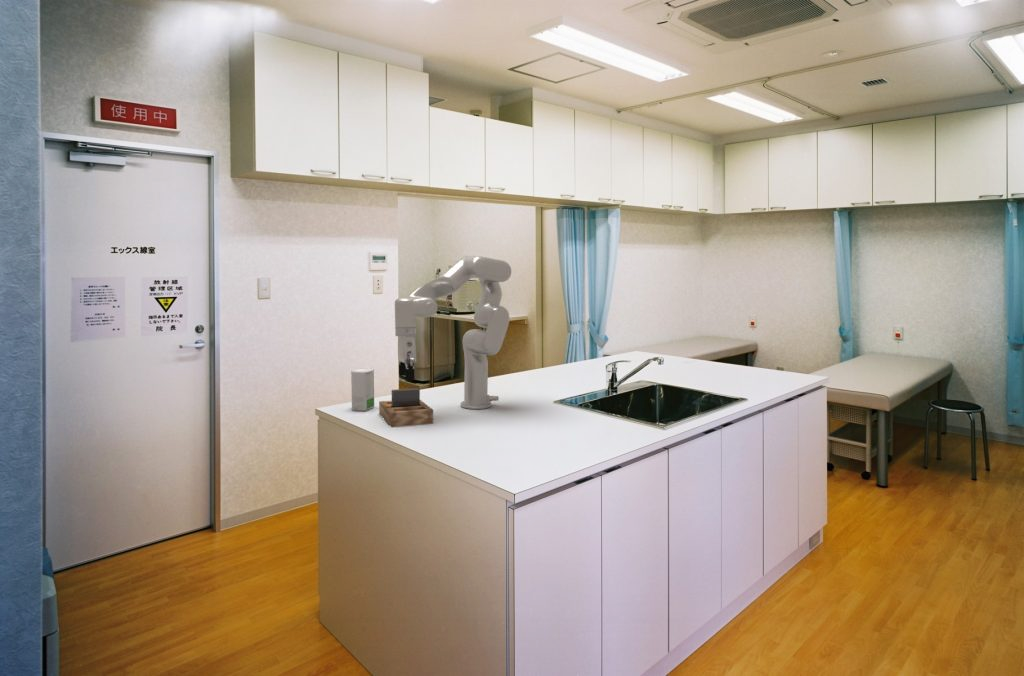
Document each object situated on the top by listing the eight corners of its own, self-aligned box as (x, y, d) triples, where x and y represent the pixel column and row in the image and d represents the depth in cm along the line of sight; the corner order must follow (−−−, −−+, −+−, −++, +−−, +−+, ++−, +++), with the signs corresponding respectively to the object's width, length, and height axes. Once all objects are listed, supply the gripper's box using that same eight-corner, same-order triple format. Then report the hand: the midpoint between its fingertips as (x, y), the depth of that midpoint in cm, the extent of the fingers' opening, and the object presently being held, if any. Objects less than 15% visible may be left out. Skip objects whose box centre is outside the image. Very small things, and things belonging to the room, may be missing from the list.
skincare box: (366, 411, 238) (365, 372, 236) (350, 410, 239) (349, 371, 237) (375, 407, 246) (374, 368, 244) (359, 406, 247) (359, 368, 246)
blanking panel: (418, 411, 231) (418, 388, 230) (419, 413, 229) (419, 389, 228) (391, 413, 227) (391, 389, 226) (393, 415, 225) (393, 391, 224)
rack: (418, 411, 240) (418, 397, 240) (433, 423, 222) (433, 408, 222) (379, 414, 234) (379, 399, 234) (390, 426, 216) (390, 411, 215)
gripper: (421, 333, 218) (422, 381, 221) (409, 328, 234) (410, 372, 236) (401, 335, 215) (402, 382, 218) (390, 329, 231) (391, 374, 233)
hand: (406, 377), depth 227 cm, fingers open, 9 cm apart
